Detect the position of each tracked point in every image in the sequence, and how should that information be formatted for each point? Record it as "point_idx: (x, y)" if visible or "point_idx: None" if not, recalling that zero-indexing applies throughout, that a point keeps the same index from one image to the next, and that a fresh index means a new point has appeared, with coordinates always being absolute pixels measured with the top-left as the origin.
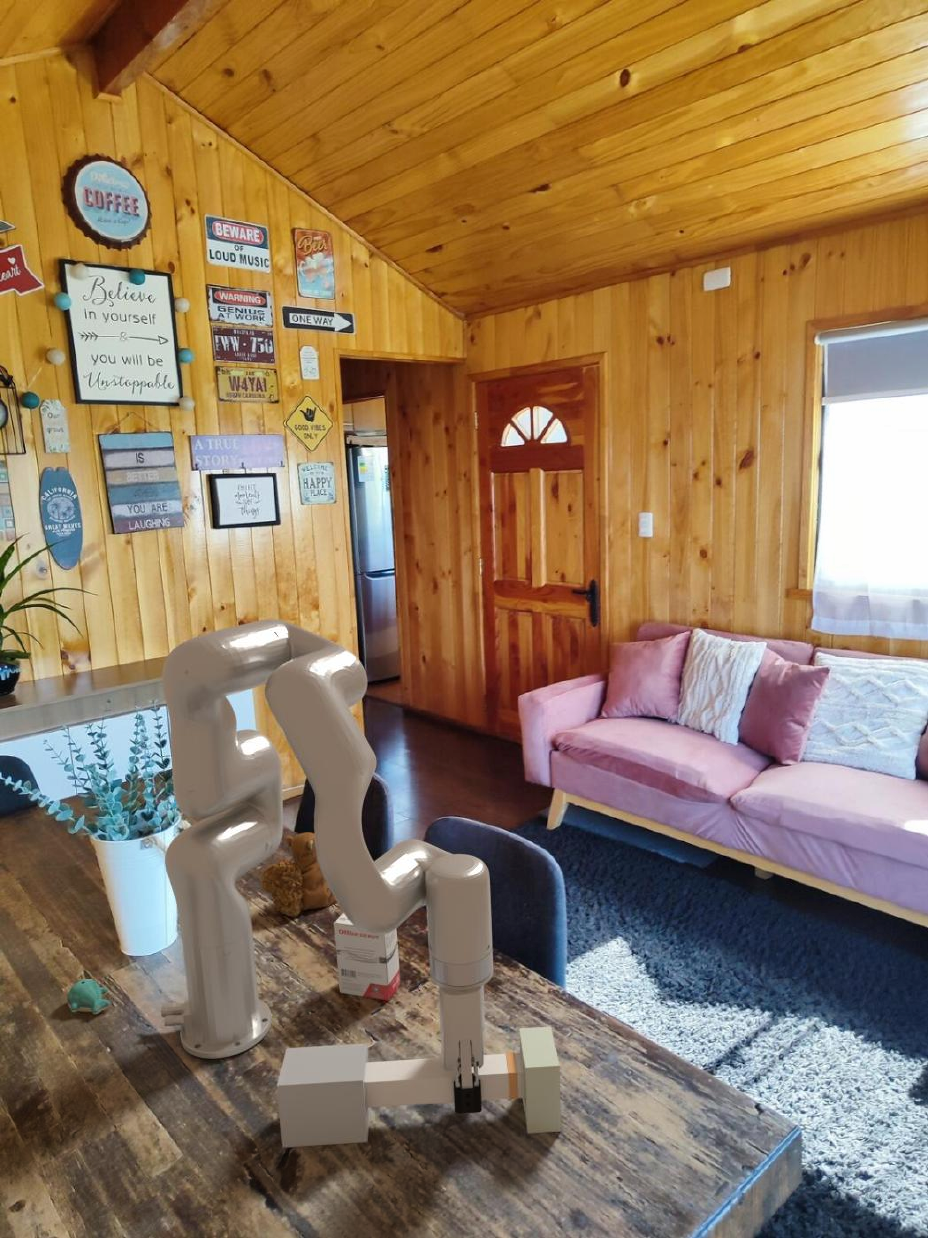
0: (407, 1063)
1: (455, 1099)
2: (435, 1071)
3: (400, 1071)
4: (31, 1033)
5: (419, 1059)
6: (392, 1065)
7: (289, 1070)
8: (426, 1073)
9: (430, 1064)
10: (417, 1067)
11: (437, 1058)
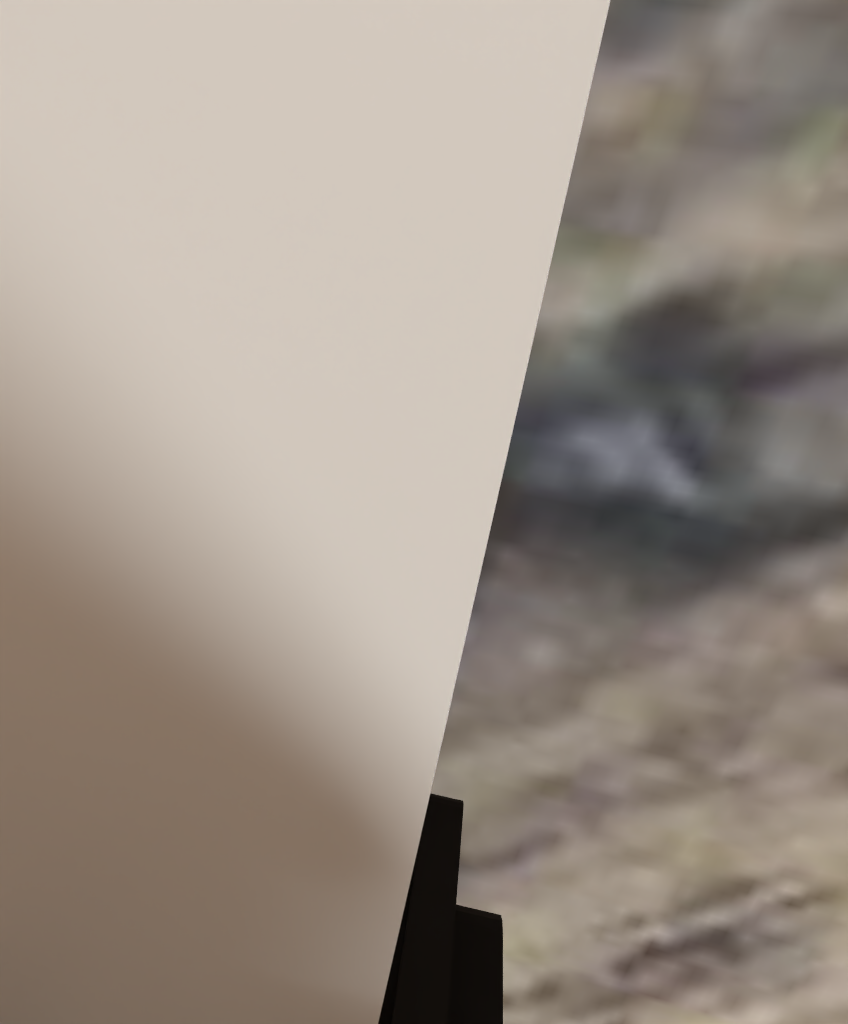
0: (392, 431)
1: None
2: (65, 861)
3: (174, 231)
4: None
5: (443, 685)
6: (426, 48)
7: None
8: (49, 719)
9: (264, 828)
10: (218, 605)
11: (373, 963)
